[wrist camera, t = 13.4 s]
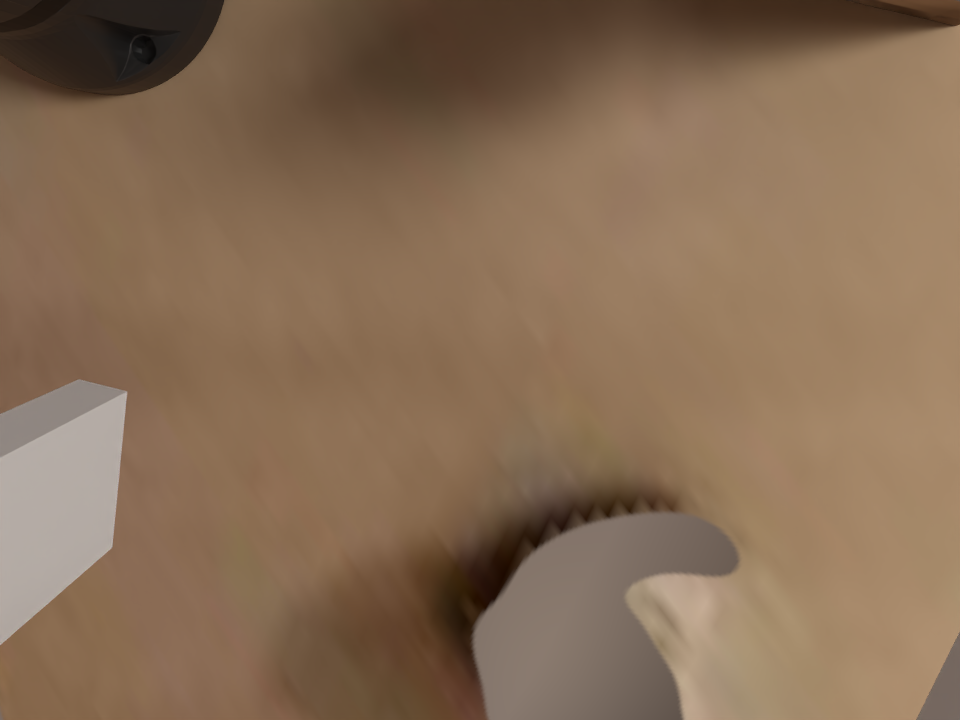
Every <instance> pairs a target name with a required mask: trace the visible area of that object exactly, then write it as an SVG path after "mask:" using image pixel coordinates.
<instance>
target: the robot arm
mask: <svg viewBox="0 0 960 720" xmlns="http://www.w3.org/2000/svg"><path fill="white" fill-rule="evenodd" d="M223 3H224V0H0V54H1V55H2V56H4V57H5V58H6V59H8V60H9V61H11V62H12V63H13V64H15V65H17V66H18V67H20V68H21V69H23V70H25V71H26V72H28V73H30V74H32V75H34V76H36V77H38V78H41V79H43V80H45V81H48V82H50V83H53V84H56V85H59V86H63V87H66V88H70V89H76V90H81V91H86V92H92V93H98V94H108V95H119V94H129V93H135V92H140V91H143V90H147V89H150V88H152V87H155V86H157V85H159V84H161V83H163V82H165V81H167V80H169V79H170V78H172V77H173V76H175V75H176V74H178V73H179V72H180V71H182V70H183V69H184V68H185V67H186V66H187V65H188V64H189V63H190V62H191V61H192V60H193V59H194V58H195V57H196V56H197V54H198V53H199V52H200V51H201V49H202V48H203V47H204V45H205V44H206V42H207V41H208V39H209V37H210V35H211V34H212V32H213V30H214V27H215V25H216V23H217V21H218V18H219V15H220V13H221V10H222V6H223ZM126 398H127V391H124V390H120V389H116V388H112V387H108V386H104V385H100V384H96V383H92V382H88V381H84V380H80V379H79V380H76V381H74V382H72V383H70V384H67V385H65V386H63V387H60V388H58V389H56V390H54V391H51V392H49V393H47V394H45V395H42V396H40V397H38V398H36V399H33V400H31V401H29V402H26V403H24V404H22V405H20V406H17V407H15V408H13V409H11V410H8V411H6V412H4V413H2V414H0V645H1V644H2V643H3V642H4V641H5V640H7V639H8V638H9V637H10V636H11V635H12V634H13V633H15V632H16V631H17V630H18V629H19V628H20V627H21V626H23V625H24V624H25V623H26V622H27V621H28V620H30V619H31V618H32V617H33V616H34V615H35V614H36V613H38V612H39V611H40V610H41V609H42V608H43V607H44V606H46V605H47V604H48V603H49V602H50V601H51V600H53V599H54V598H55V597H56V596H57V595H58V594H59V593H61V592H62V591H63V590H64V589H65V588H66V587H67V586H69V585H70V584H71V583H72V582H73V581H74V580H75V579H77V578H78V577H79V576H80V575H81V574H82V573H84V572H85V571H86V570H87V569H88V568H89V567H90V566H92V565H93V564H94V563H95V562H96V561H97V560H98V559H100V558H101V557H102V556H103V555H104V554H105V553H107V552H108V551H109V550H110V549H111V548H112V544H113V533H114V523H115V513H116V502H117V492H118V481H119V471H120V460H121V450H122V440H123V429H124V419H125V408H126ZM916 720H960V632H959V634H958V636H957V638H956V640H955V642H954V645H953V647H952V649H951V651H950V653H949V655H948V657H947V659H946V661H945V663H944V665H943V667H942V669H941V671H940V673H939V675H938V677H937V679H936V681H935V683H934V685H933V687H932V689H931V691H930V693H929V695H928V697H927V699H926V701H925V703H924V705H923V707H922V709H921V711H920V713H919V715H918V717H917V719H916Z"/></svg>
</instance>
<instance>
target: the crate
mask: <svg viewBox="0 0 960 720" xmlns="http://www.w3.org/2000/svg"><path fill="white" fill-rule="evenodd" d="M847 1H852V2H856V3H860V4H865V5H869V6H873V7H877V8H882V9H886V10H890V11H894V12H899V13H903V14H907V15H912V16H916V17H920V18H924V19H929V20H933V21H937V22H942V23H946V24H950V25H954V26H957V25H960V1H957V0H847Z"/></svg>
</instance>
